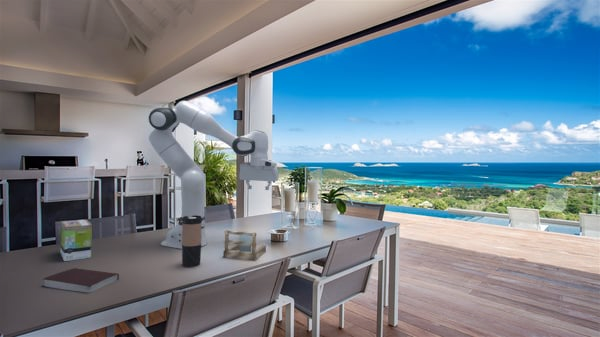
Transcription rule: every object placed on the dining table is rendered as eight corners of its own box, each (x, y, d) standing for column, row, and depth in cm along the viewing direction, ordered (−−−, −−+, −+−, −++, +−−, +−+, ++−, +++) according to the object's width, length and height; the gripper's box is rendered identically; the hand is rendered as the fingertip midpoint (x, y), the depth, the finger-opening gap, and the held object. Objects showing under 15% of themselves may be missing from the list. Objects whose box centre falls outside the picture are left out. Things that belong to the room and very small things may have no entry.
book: (75, 275, 122) (75, 266, 122) (119, 280, 118) (119, 271, 118) (42, 288, 110) (42, 278, 110) (89, 294, 106) (89, 285, 106)
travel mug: (194, 268, 132) (195, 219, 131) (177, 266, 133) (178, 217, 133) (204, 262, 139) (205, 215, 139) (187, 260, 141) (188, 214, 140)
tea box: (92, 257, 141) (92, 224, 141) (63, 262, 135) (63, 226, 134) (86, 249, 153) (86, 218, 152) (59, 253, 146) (60, 220, 146)
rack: (223, 257, 147) (223, 231, 146) (236, 248, 161) (237, 224, 161) (254, 260, 143) (255, 233, 143) (265, 251, 158) (266, 226, 158)
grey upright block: (237, 255, 150) (237, 234, 150) (242, 252, 156) (242, 231, 155) (248, 256, 149) (249, 235, 149) (252, 253, 154) (253, 232, 154)
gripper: (237, 162, 166) (236, 189, 166) (276, 163, 161) (275, 191, 162) (242, 161, 172) (241, 188, 172) (279, 163, 168) (279, 190, 168)
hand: (258, 189), depth 167 cm, fingers open, 8 cm apart
